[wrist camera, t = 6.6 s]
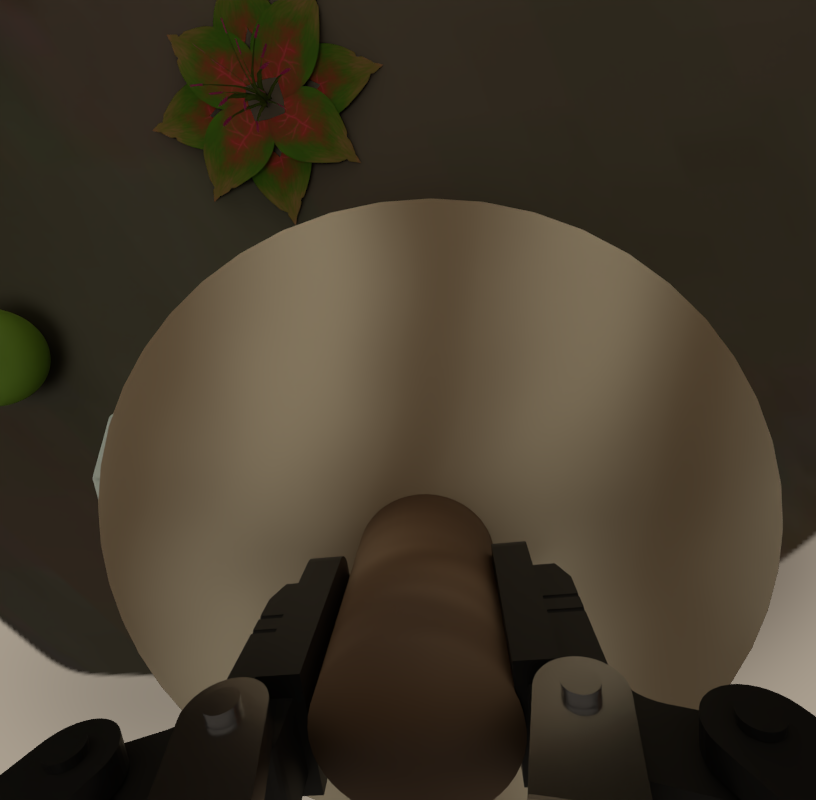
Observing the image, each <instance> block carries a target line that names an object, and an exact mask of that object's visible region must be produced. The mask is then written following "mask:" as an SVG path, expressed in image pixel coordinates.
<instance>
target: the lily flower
mask: <svg viewBox="0 0 816 800" xmlns="http://www.w3.org/2000/svg"><path fill="white" fill-rule="evenodd" d="M247 27H248V29H249V31H250V32H251V33H252V36H251V43H250V49H249V48H248V46H247V45H246V44H245V39H246V33H247ZM167 36H168V38H169V40H170V41H171V42H172V47H173V50H174V54H175V55H176V56H177V57H178V60H177V63H178V66H179V69H180V72H181V74H182V76H183V78H184V80H185V81H186V82H187V84H186V85H185V86H184V87H183V88H181V89H180V90H179V91H178V92H177V94H176V95H175V96H174V97H173V99H172V100H171V102H170V104H169V106H168V107H167V109H166V111H165V113H164V115H163V116H164V118H163V123H159V124H158V125H157V126H156V128H154V130H152V131H156V132H162V134H164V135H167V136H169V137H171V138H174V137H176V138H177V141H179V142H181V143H183V144H186V145H188V146H191V147H195V148H198V149H204V158H205V163H206V167H207V171H208V174H209V177H210V181H211V182H212V183H213V185H214V187H215V189H213V193H214V202H215V201H216V200H217V199H218V198H219V197H220V196H222V195H224V194H225V193H227V192H229V191H230V189H231V187H233V188H236V187H237V186H239V185H241V184H242V183H244V182H245V181H247V180H248V179H250V178H251V177H252V179H253V181H254V182H255V184H256V186H257V187H258V188H259V190H260V191H261V192H262V193H263V194H264V195H265V196H266V197H267V198H268V199H269V200H270V201H271V202H272V203H273V204H275V205H276V206H277V207H278V208H279V209H281V210H284V211H285V212H289V213H288V214H289V217H290V218H291V219H292V221H293V222H294V223H295V225H296V220H297V214H298V212H299V209H300V206H301V198H303V197H304V195H305V192H306V189H307V185H308V181H309V177H310V173H311V165H312V162H313V163H331V162H341V161H342V160H346V159H348V160H349V161H350V162H351V161H352V162H358V163H361V162H360V161H359V159H358V157H357V156H356V155H355V151H354V149H353V146H352V144H351V141H350V140H349V139H348V138H347V136H346V135H347V131H346V128H345V126H344V123H343V121H342V119H341V117H340V115H339V113H340V112H341V111H342V110H344V109H345V108H346V107H347V106H348V105H349V104H350V102H351V101H352V100H353V99H354V98H355V97H356V96H357V95H358V93H359V92H360V91H361V90H362V88H363V87H364V86H365V84H366V83H367V82H368V79H369V77H370V74H371V73H375V72H376V71H377V70H378V69H379V68H380V67H381V66H382V64H378V63H374V64H373V62H372V61H370V60H368V59H366V58H364V57H362V56H359V57H357V56H356V55H355V53H354V52H353V51H351V50H349V49H346V48H344V47H342V46H338V45H334V44H328V43H319V9H318V5H317V2H316V0H278V1H276V2H274V3H273V4H272V5H271V4H270V3H269V1H268V0H217V1H216V4H215V8H214V17H213V27H209V26H203V27H198V28H194V29H191V30H188V31H185V32H183V34H181V35H180V36H179V37H178V36H177V35H167ZM273 77H277V79H276V80H275V81H274V83H273V84H272V86H271V88H270V91H269V93H268V97H267V94H266V92H265V91H264V89H263V85H262V80H263V79H267V78H273ZM308 79H309V80H311V81H314V82H316V83H318V84H320V86H319V87H318V89H315V88H312V87H308V86H303V85H304V84H305V83H306V81H307V80H308ZM255 82H257V85H258V87H257V85H256V83H255ZM277 82H278V83H279V86H280V89H281V92H282V95H283V99H284V107H285V113H284V114H282V115H279V116H276V117H274V118H271V119H268V120H263V121H259V117H260V115H261V112H262V111H263V109H264V107H265V106H266V107H267V103H266V101H268V100H269V99H272V98H271V93H272V91H273V89H274V86H275V85H276V83H277ZM250 84H251V85H252V87H253V88H254V89H253V88H252V89H250V88H247V87H245V86H248V87H250V86H249V85H250ZM245 89H246V90H248V91H251V92H253V93H255V94H250V93H246V90H245ZM256 94H257V95H256ZM251 100H258V101H260V103H257V104H254V105H251V106H249V105H248V101H251ZM268 102H269V103H270V102H271V103H275V102H273V101H270V100H269V101H268ZM275 104H277V103H275ZM260 105H261V106H262V107H261V108H260V110H259V113H258V117H257V121H256V122H255V120H254V118H253V115H252V112H251V110H250V109H251V108H254V107H256V106H260ZM278 105H279V104H278ZM280 106H281V105H280ZM282 107H283V106H282ZM284 107H283V108H284ZM216 108H218V109H223V110H222V111H220V112H219V113H218V114H217V115H216V116H215V117H214V118H213V117H210V115H211V114H212V113H213V111H214V110H215V109H216ZM267 108H268V107H267ZM274 143H275V144H276V146H277V147H278V148H279V149H280V150H281V151H282V153H281V157H279V156H278V155H277V154H276V153H275V152H274V151H273V148H274Z"/></svg>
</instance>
